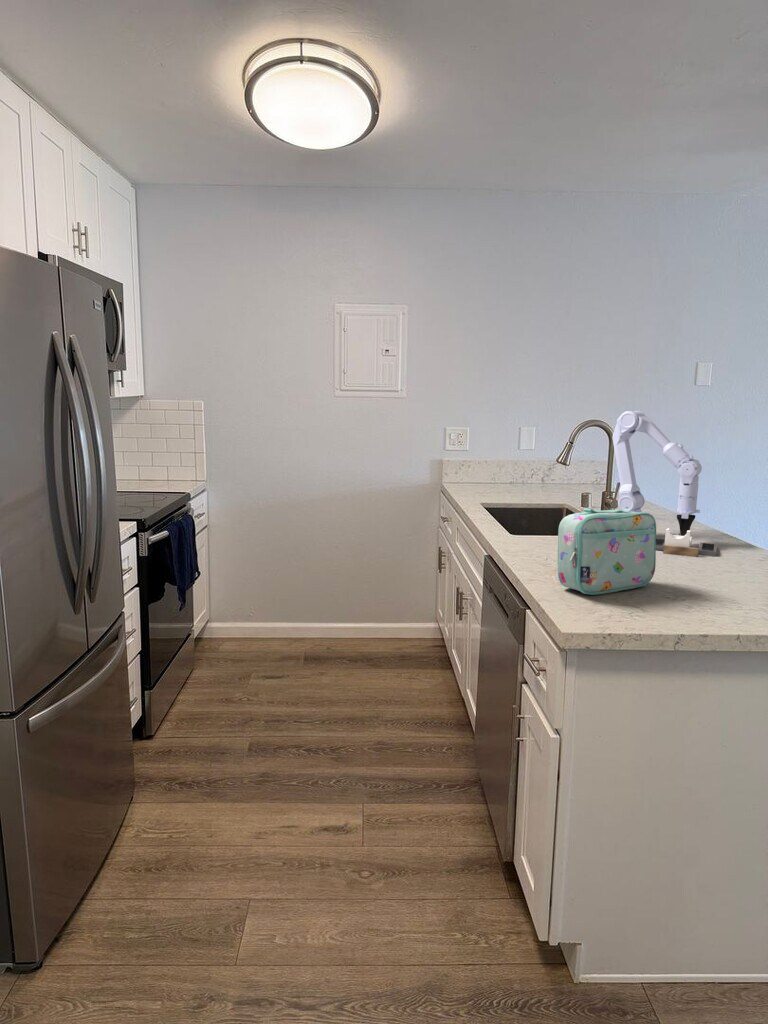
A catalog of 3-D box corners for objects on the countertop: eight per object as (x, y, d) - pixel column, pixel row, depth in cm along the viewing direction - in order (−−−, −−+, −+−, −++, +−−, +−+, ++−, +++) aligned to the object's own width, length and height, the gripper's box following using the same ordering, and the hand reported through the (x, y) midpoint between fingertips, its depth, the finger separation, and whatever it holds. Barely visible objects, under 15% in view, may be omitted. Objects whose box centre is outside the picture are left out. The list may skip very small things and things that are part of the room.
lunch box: (576, 600, 164) (581, 514, 160) (549, 589, 173) (554, 507, 169) (658, 588, 174) (664, 507, 171) (629, 578, 184) (634, 501, 180)
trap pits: (647, 549, 217) (647, 544, 217) (651, 541, 228) (651, 537, 228) (715, 556, 208) (716, 551, 208) (716, 548, 219) (717, 543, 219)
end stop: (663, 553, 212) (663, 545, 212) (663, 552, 213) (664, 544, 213) (697, 556, 208) (698, 549, 207) (697, 555, 209) (698, 548, 209)
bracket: (688, 555, 211) (690, 531, 210) (663, 552, 214) (665, 529, 213) (691, 547, 222) (693, 524, 221) (668, 544, 226) (670, 522, 224)
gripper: (700, 500, 213) (696, 541, 215) (701, 494, 226) (698, 533, 228) (676, 498, 216) (672, 539, 219) (679, 492, 229) (676, 531, 231)
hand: (684, 536), depth 224 cm, fingers closed
